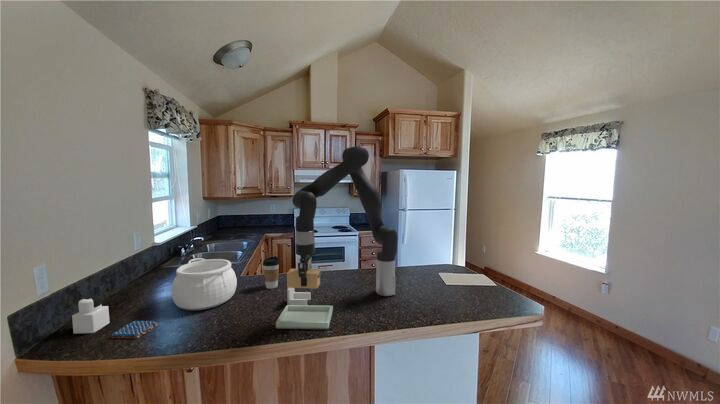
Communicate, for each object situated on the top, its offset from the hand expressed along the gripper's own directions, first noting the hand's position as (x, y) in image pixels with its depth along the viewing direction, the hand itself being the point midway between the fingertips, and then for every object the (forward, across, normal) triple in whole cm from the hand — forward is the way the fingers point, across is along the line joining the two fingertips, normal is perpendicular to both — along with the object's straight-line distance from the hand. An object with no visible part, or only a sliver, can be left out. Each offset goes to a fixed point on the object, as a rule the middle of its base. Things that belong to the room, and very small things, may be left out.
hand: (305, 283), depth 107 cm
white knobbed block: (+15, -9, +80) cm, 82 cm away
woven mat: (+16, -10, +62) cm, 65 cm away
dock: (+15, +14, +6) cm, 21 cm away
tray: (+15, 0, 0) cm, 15 cm away
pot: (+15, +16, +51) cm, 56 cm away
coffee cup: (+15, +33, +26) cm, 45 cm away
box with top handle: (+1, 0, +1) cm, 1 cm away
